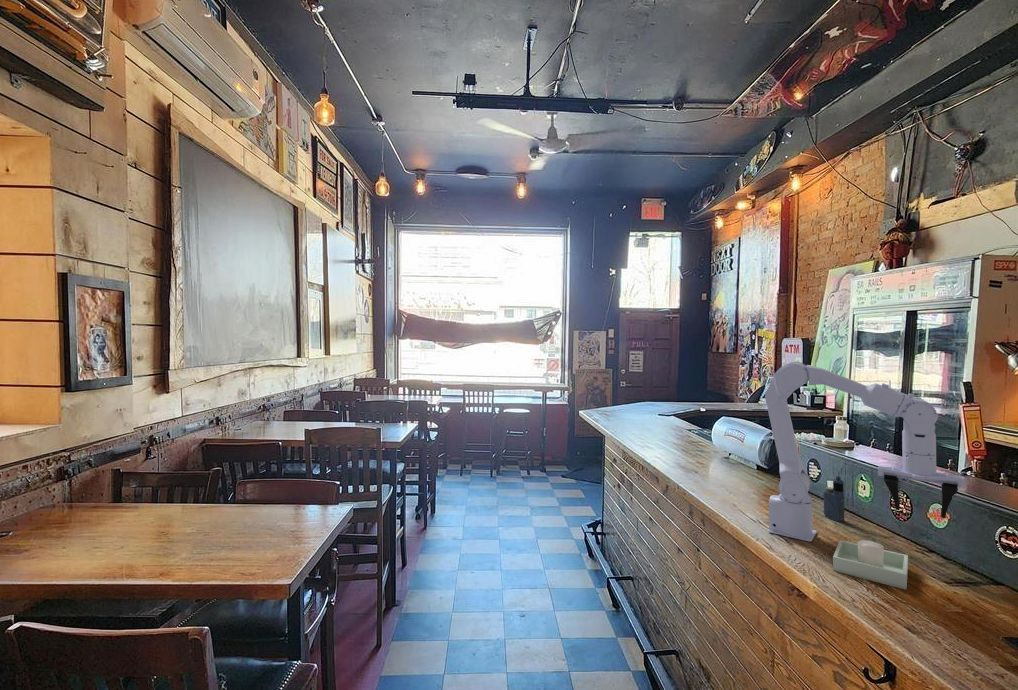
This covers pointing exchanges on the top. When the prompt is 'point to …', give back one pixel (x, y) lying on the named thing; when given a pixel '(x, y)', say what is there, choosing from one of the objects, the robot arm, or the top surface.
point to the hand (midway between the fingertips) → (919, 512)
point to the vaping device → (834, 500)
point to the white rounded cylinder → (871, 553)
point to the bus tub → (871, 566)
